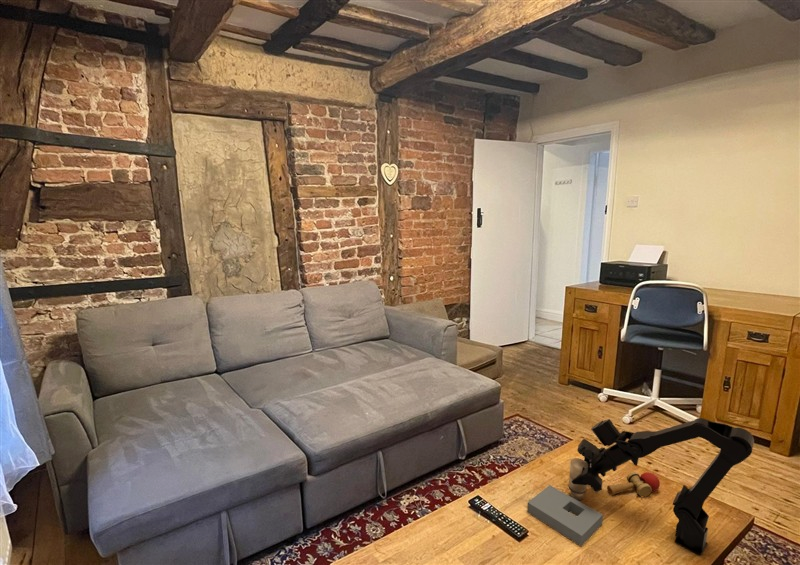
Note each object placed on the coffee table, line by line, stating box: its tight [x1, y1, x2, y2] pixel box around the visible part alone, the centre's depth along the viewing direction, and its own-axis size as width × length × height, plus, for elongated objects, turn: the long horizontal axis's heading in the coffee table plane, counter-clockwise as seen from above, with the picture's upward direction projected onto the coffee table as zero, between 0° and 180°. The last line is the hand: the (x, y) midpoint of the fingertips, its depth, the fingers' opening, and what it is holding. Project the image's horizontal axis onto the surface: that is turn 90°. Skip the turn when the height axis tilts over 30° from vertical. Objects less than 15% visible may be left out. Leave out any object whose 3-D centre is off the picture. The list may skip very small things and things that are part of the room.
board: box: [526, 484, 604, 547], centre depth 131 cm, size 18×13×4 cm
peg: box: [567, 457, 588, 501], centre depth 140 cm, size 6×6×12 cm
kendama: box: [606, 471, 660, 497], centre depth 143 cm, size 8×6×18 cm
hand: (573, 477), depth 140 cm, fingers closed on peg, 5 cm apart
